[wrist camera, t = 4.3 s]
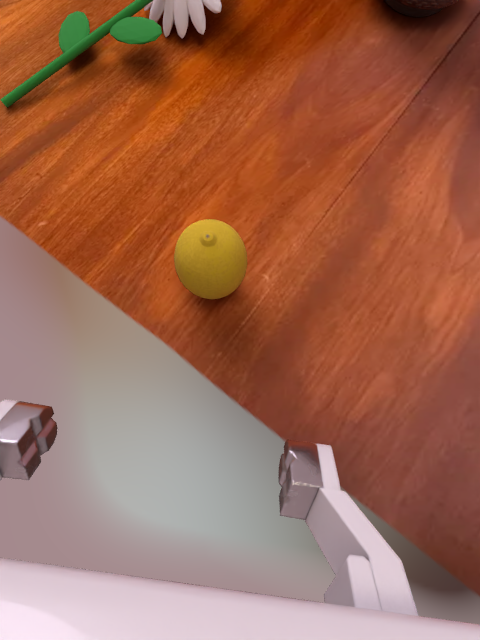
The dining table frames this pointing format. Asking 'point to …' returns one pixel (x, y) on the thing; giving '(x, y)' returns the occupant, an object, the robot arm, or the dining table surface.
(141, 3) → the decorative flower
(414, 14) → the planter
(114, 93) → the dining table surface
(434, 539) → the dining table surface
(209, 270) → the lemon
